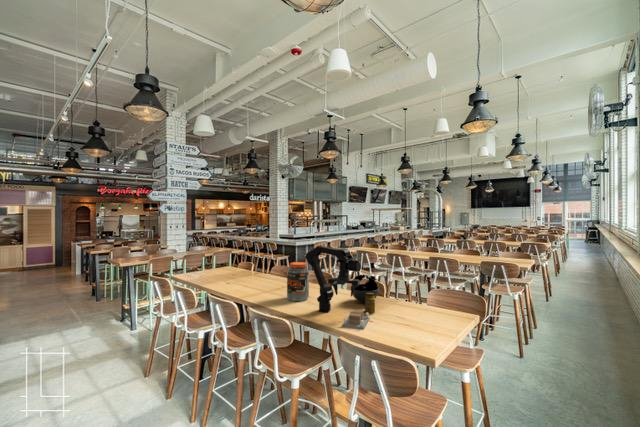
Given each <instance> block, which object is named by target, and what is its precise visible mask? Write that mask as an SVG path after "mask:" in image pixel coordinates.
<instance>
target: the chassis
mask: <svg viewBox="0 0 640 427" xmlns="http://www.w3.org/2000/svg"><path fill="white" fill-rule="evenodd" d="M352 311H353V310H349V314H350V313H351V312H352ZM370 320H371V318H370V315H369V313H366V314H365V316H363V320H361V323H360V325H359V324H351V323H349V316H347V317H344V318H343V322H342V327H345V326H346V328H352V329H358V330H359V329H360V330H365V328H366V327H367V325H368V323H369V322H370Z"/></svg>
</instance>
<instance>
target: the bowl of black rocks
mask: <svg viewBox="0 0 640 427" xmlns="http://www.w3.org/2000/svg"><path fill="white" fill-rule="evenodd" d="M367 276H368V275H365V274H358V275H355V276H354V278H353V279H359V280H360V282H361V281H362V280H363V279H364V278H366V277H367ZM367 279H368V280H367V281H366V282H365V283H360V285H359V286H357V287H355V289H354V292H353V294H352V297H353V298H354V299H355V300H357V301H358V302H360V303H364V304H365V297H366V293H368V292H371V293H374V298H375V299H376V298H377V297H378V296H379V293H380V287H379V286H378V283H377V282H376V280H375V279H373V278H372V277H369V276H368V277H367Z"/></svg>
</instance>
